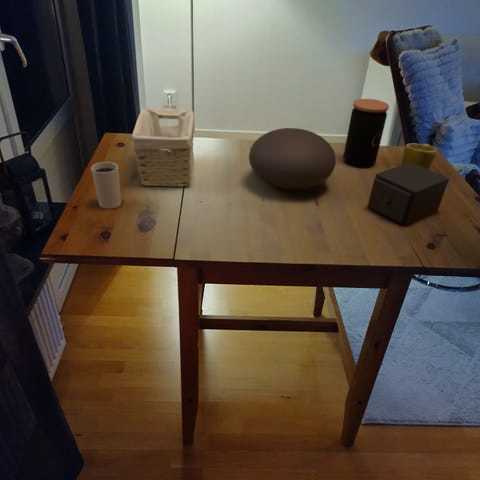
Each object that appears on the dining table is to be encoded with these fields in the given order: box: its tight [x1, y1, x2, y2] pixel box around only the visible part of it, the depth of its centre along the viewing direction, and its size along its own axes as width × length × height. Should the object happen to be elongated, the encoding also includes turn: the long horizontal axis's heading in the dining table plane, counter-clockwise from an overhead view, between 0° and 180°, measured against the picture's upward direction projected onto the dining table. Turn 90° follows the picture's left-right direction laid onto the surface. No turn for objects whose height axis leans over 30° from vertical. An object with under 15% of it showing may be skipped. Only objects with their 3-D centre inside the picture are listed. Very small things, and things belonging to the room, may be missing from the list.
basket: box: [131, 108, 195, 188], centre depth 135 cm, size 24×16×15 cm
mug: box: [401, 142, 437, 171], centre depth 145 cm, size 12×10×10 cm
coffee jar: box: [343, 98, 390, 169], centre depth 145 cm, size 11×11×18 cm
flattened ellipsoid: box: [248, 127, 337, 190], centre depth 132 cm, size 25×25×15 cm
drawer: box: [367, 178, 412, 224], centre depth 123 cm, size 15×11×8 cm
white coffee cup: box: [90, 161, 122, 210], centre depth 120 cm, size 7×7×10 cm
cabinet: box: [367, 162, 450, 227], centre depth 124 cm, size 15×13×10 cm
